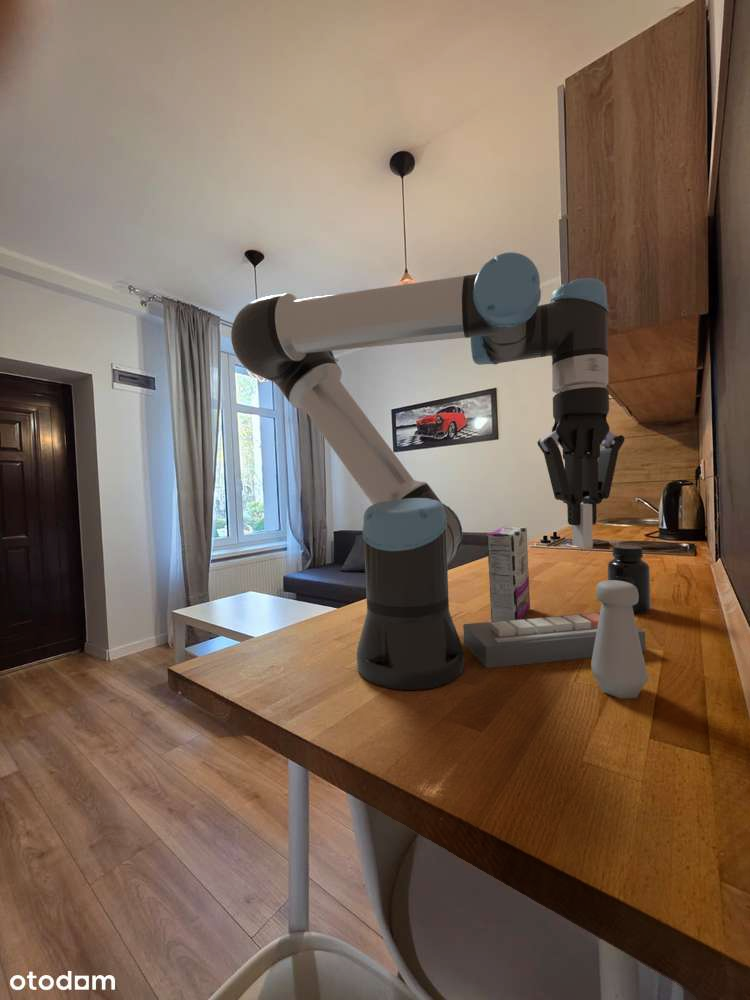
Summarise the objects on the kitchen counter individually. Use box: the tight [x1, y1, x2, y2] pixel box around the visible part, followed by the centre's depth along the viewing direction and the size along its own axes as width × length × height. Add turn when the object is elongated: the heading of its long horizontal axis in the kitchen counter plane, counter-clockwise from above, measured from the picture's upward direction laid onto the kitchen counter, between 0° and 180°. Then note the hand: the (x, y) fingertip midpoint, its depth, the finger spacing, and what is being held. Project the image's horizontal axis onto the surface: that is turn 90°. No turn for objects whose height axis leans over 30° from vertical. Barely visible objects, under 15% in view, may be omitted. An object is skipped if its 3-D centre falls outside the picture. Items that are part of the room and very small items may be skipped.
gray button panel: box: [462, 611, 646, 669], centre depth 60 cm, size 24×9×4 cm, turn 97°
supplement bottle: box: [607, 544, 652, 615], centre depth 75 cm, size 7×7×12 cm
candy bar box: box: [486, 526, 531, 622], centre depth 74 cm, size 11×5×16 cm, turn 147°
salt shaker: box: [590, 579, 649, 700], centre depth 47 cm, size 6×6×13 cm
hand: (582, 546), depth 60 cm, fingers closed
